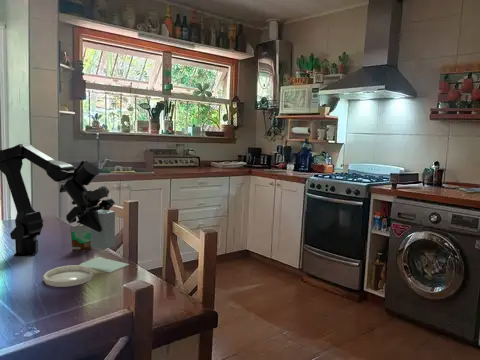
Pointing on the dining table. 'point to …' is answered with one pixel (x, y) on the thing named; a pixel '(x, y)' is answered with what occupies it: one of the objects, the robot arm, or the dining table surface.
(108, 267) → the rubber mat
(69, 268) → the ceramic dish
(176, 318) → the dining table surface
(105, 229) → the tea tin
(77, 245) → the food container
